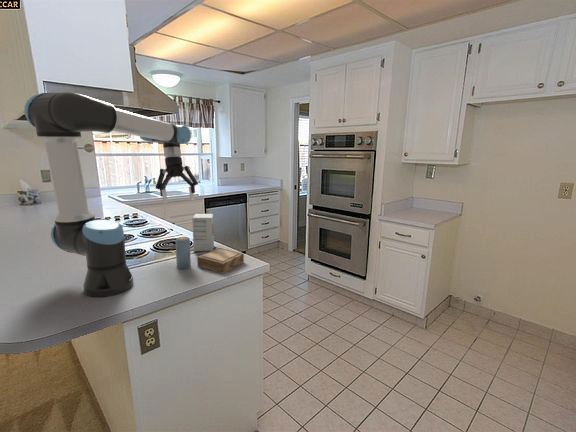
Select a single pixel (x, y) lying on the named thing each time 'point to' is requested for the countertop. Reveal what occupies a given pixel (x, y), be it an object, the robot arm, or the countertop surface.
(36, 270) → the countertop surface
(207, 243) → the supplement box
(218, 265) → the walnut base
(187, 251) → the canister
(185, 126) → the robot arm
